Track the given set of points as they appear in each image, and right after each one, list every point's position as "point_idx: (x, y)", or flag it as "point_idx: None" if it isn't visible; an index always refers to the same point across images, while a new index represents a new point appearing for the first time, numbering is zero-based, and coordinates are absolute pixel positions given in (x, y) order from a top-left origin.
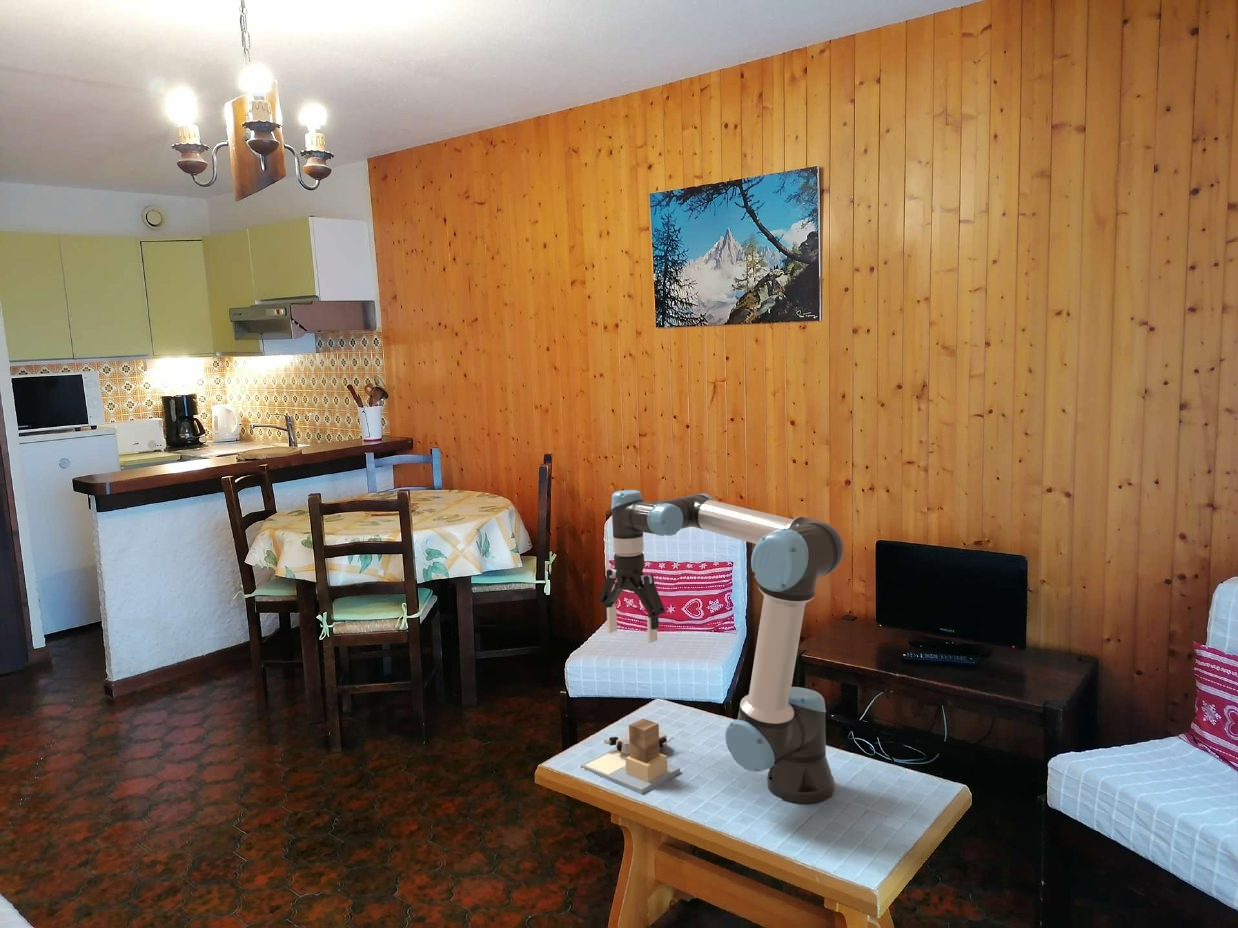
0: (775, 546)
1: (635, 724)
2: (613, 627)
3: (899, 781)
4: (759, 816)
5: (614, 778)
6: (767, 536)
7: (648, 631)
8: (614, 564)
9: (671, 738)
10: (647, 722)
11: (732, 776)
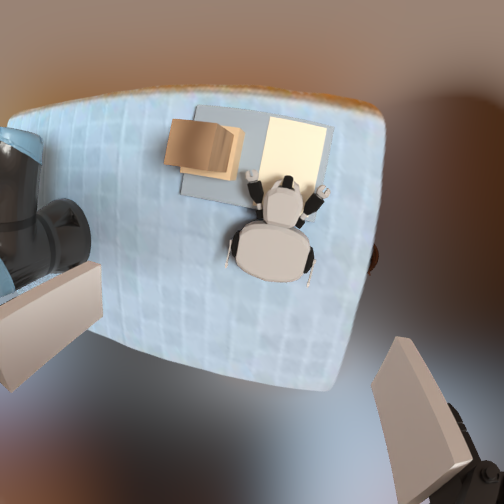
0: None
1: (204, 132)
2: (389, 378)
3: (30, 283)
4: (70, 150)
5: (254, 111)
6: None
7: (53, 284)
8: None
9: (226, 261)
10: (186, 156)
11: (122, 219)
